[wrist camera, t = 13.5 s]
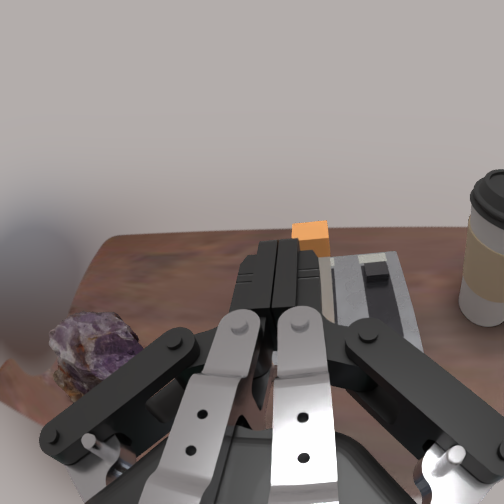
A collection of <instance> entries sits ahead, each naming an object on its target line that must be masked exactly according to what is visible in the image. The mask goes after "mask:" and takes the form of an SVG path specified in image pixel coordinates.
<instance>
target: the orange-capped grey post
mask: <svg viewBox="0 0 504 504" xmlns="http://www.w3.org/2000/svg"><path fill="white" fill-rule="evenodd" d="M292 238H298V239H299V245H300V251H303V250H313V251H314V252H315V254H316V255H317V257H318V259H319V269H320V279H321V293H322V314H323V315H324V317H325V318H326V319H328V320H329V321H331V322H332V323H335V320H334V303H333V289H332V276H331V264H330V246H329V235H328V225H327V221H316V222H306V223H296V224H293V226H292Z"/></svg>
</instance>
